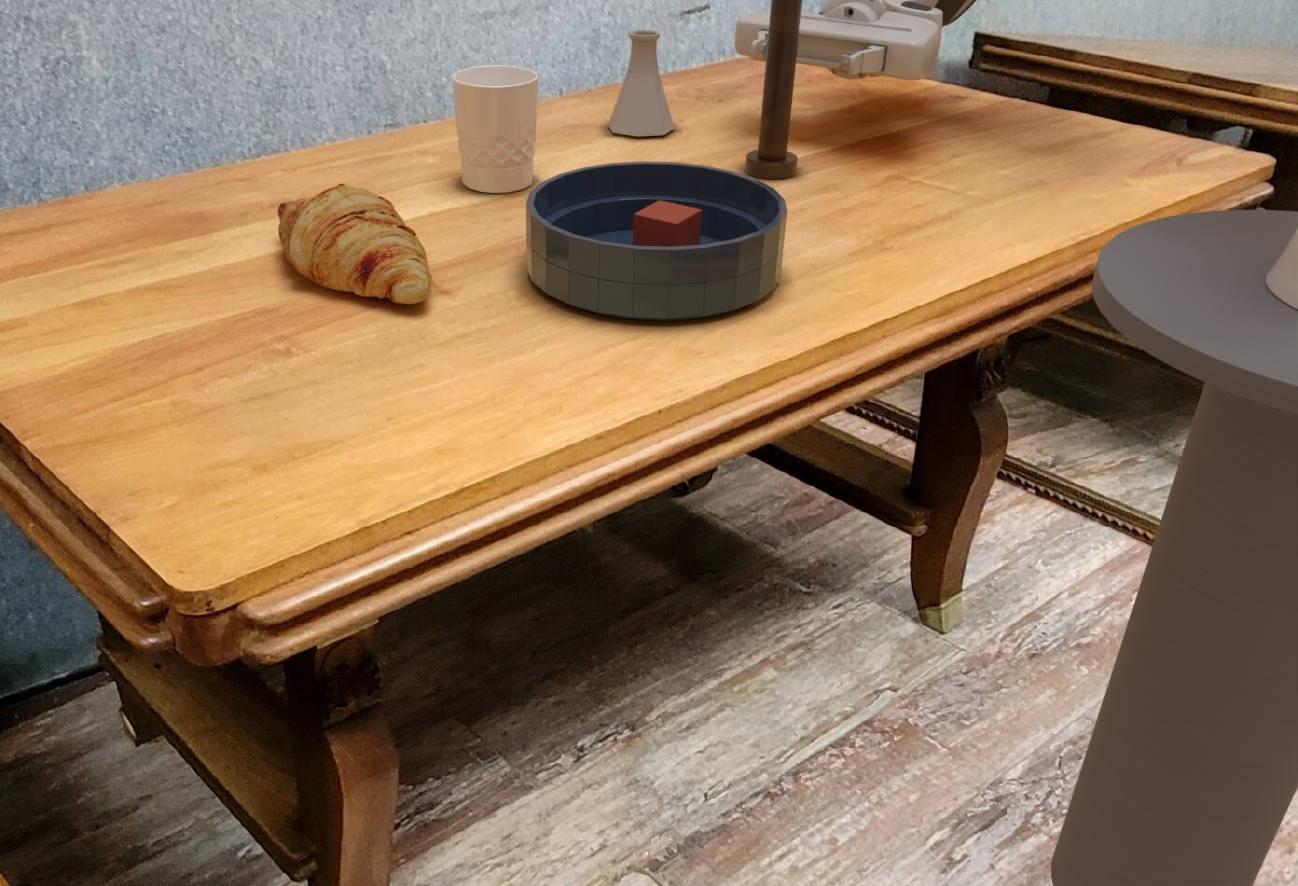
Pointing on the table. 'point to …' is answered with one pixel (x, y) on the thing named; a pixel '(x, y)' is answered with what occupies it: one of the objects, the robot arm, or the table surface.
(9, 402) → the table surface
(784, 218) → the bowl
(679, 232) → the block
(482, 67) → the white cup
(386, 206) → the croissant
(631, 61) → the flask
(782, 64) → the rod
